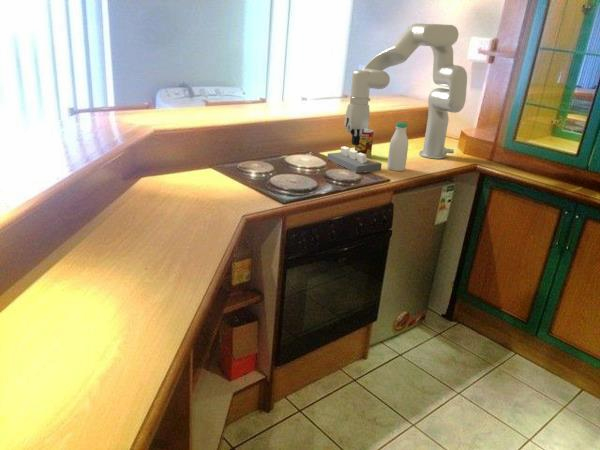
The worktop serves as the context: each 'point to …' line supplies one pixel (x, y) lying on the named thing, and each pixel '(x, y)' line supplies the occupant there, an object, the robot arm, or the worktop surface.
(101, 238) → the worktop surface
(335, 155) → the switch panel
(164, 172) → the worktop surface
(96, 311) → the worktop surface
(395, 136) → the milk bottle
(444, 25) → the robot arm
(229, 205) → the worktop surface
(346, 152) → the paddle
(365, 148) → the canned food
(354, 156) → the paddle mid
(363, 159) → the paddle
